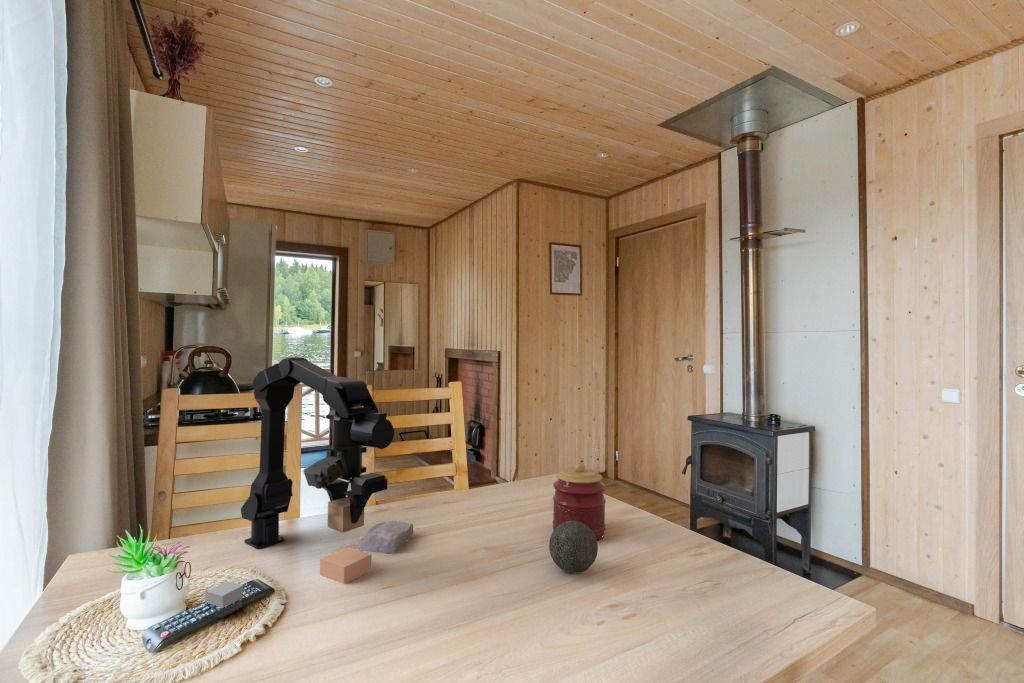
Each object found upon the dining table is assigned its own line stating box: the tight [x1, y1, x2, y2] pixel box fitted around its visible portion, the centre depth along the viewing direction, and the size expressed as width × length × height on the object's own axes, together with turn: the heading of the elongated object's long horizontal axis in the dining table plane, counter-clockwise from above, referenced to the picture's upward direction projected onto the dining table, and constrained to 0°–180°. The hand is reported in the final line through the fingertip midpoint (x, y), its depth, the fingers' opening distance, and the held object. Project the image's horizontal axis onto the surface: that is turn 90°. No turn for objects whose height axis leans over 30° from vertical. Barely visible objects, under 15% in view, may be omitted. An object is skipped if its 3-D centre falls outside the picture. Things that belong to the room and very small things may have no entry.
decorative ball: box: [548, 521, 599, 574], centre depth 103 cm, size 10×10×10 cm
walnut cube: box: [327, 496, 365, 533], centre depth 101 cm, size 5×5×5 cm
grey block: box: [204, 580, 244, 608], centre depth 86 cm, size 4×4×4 cm
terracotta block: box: [319, 546, 372, 585], centre depth 101 cm, size 7×7×4 cm
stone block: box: [358, 520, 414, 554], centre depth 116 cm, size 12×5×10 cm
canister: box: [552, 461, 607, 540], centre depth 123 cm, size 13×13×18 cm
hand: (346, 520), depth 101 cm, fingers closed on walnut cube, 5 cm apart
